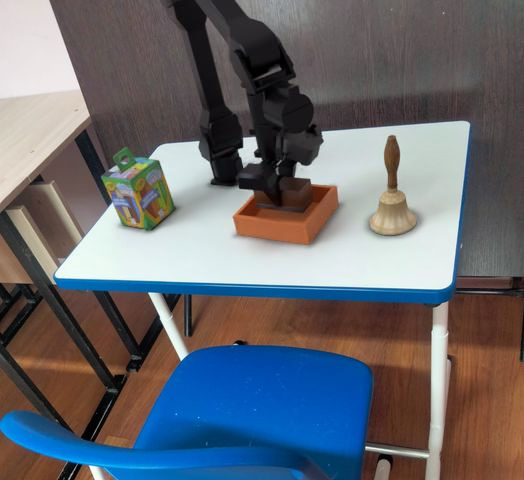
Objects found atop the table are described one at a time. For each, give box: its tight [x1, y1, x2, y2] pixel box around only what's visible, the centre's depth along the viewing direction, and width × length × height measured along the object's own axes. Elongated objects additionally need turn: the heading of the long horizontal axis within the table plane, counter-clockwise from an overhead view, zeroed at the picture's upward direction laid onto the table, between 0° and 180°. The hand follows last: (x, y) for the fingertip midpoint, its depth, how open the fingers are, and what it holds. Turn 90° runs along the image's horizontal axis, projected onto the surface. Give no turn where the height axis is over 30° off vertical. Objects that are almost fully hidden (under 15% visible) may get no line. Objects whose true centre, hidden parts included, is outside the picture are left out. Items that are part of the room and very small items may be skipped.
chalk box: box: [100, 146, 177, 231], centre depth 110 cm, size 9×9×15 cm
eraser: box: [252, 176, 314, 213], centre depth 99 cm, size 10×4×4 cm, turn 61°
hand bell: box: [369, 134, 418, 236], centre depth 90 cm, size 8×8×16 cm
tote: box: [232, 183, 340, 246], centre depth 101 cm, size 16×14×4 cm
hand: (284, 199), depth 100 cm, fingers closed on eraser, 4 cm apart
